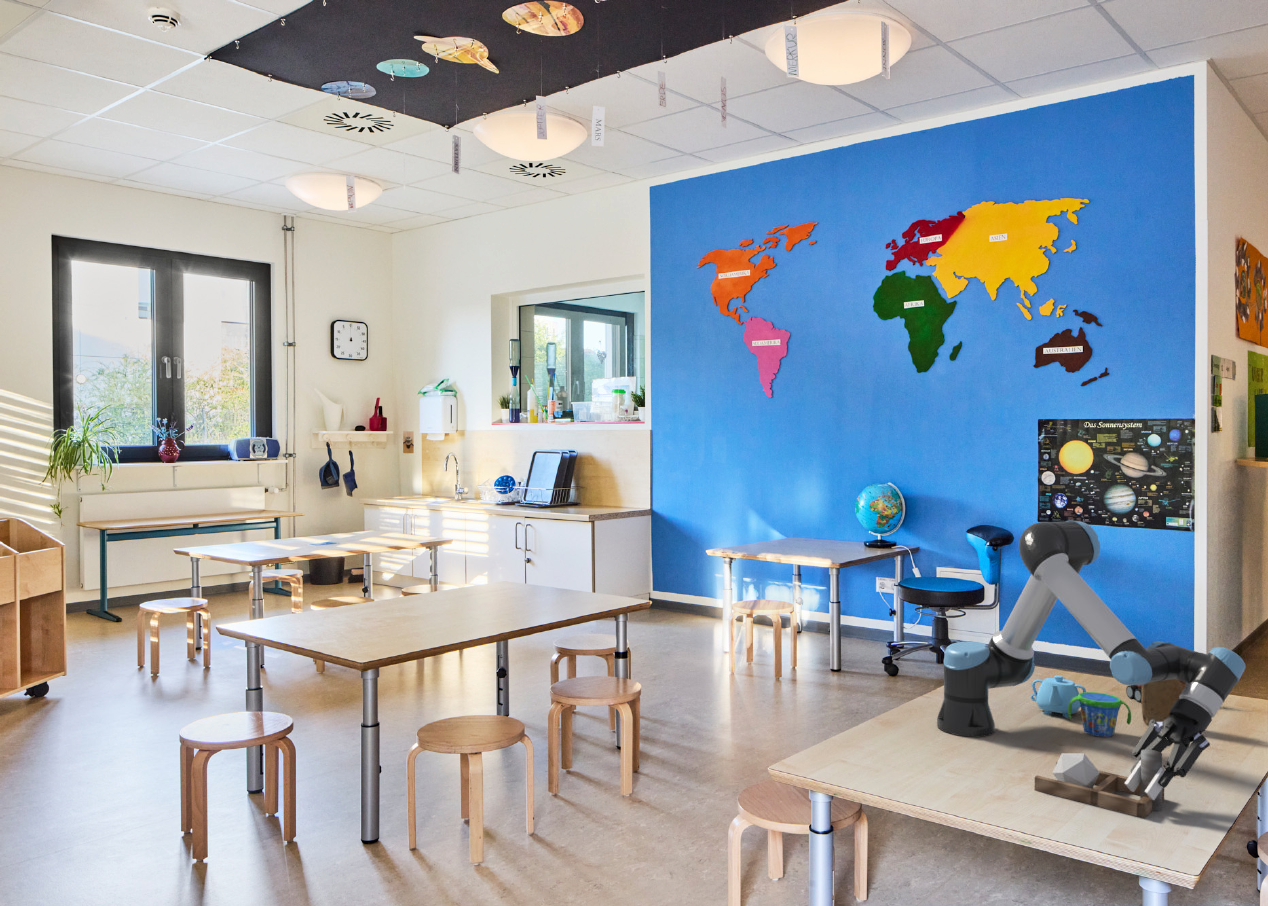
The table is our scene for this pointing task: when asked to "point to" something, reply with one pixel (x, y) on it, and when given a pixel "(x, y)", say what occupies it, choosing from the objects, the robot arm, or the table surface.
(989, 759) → the table surface
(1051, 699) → the teapot
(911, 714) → the table surface
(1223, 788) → the table surface
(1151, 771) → the frame
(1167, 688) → the block
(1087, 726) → the snack cup
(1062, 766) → the die
